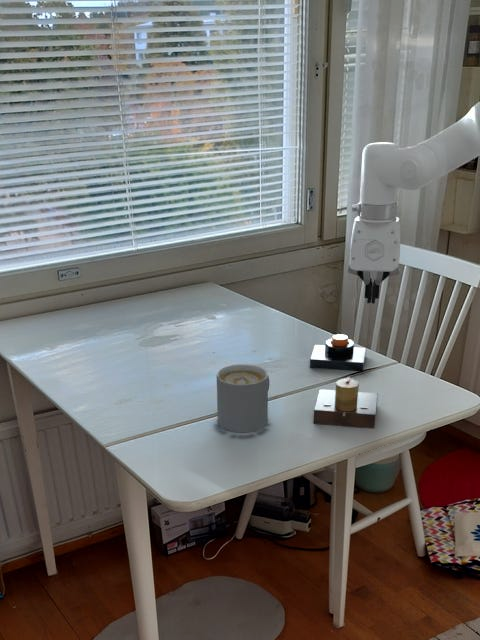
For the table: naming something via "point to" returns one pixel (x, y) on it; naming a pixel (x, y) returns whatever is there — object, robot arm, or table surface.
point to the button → (340, 340)
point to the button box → (338, 357)
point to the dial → (346, 394)
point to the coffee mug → (242, 398)
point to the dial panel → (355, 418)
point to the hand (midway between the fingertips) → (371, 301)
